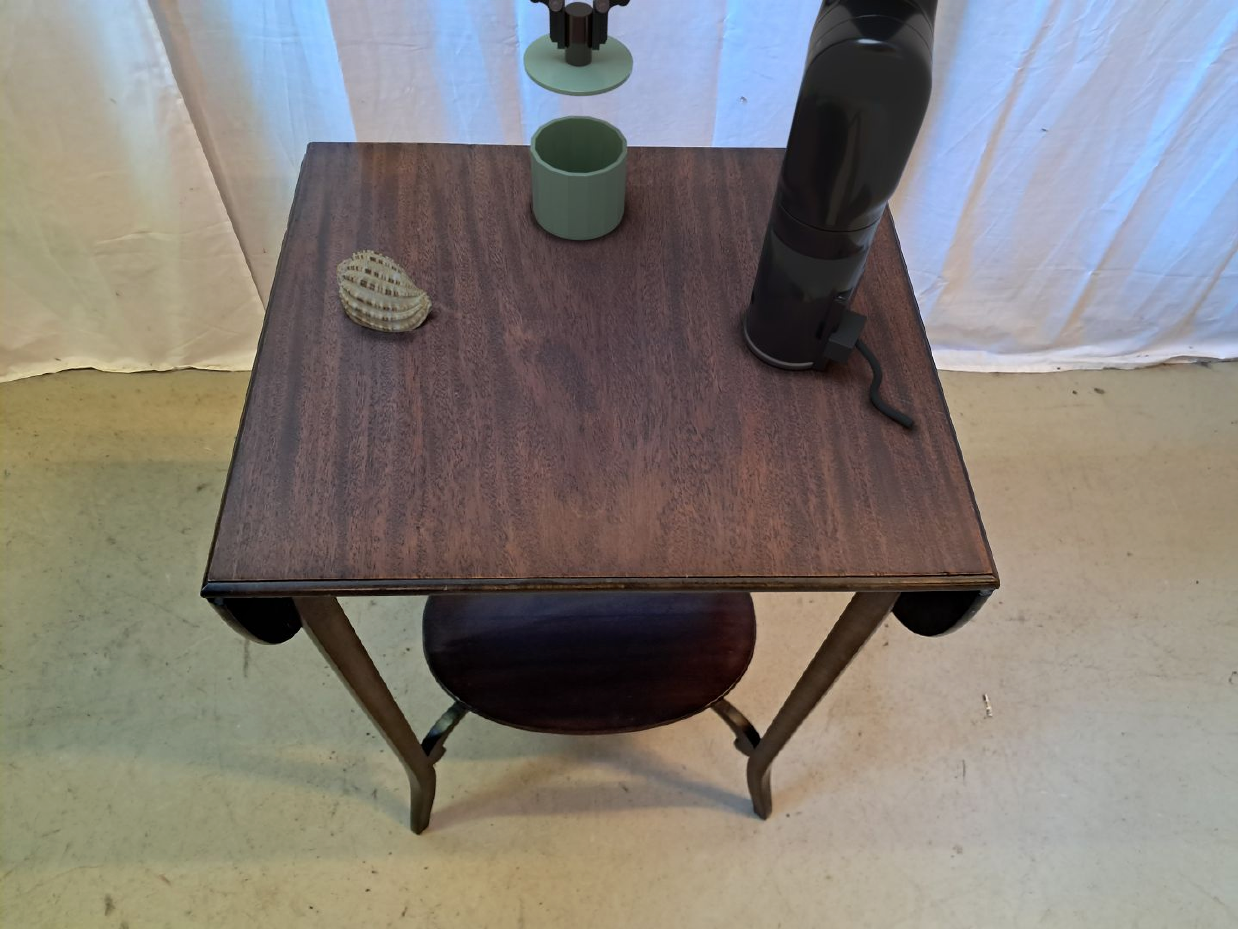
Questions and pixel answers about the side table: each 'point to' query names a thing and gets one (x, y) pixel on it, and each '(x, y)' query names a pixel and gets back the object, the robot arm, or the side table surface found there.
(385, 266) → the seashell
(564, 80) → the lid
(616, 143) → the pot
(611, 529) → the side table surface
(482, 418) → the side table surface
